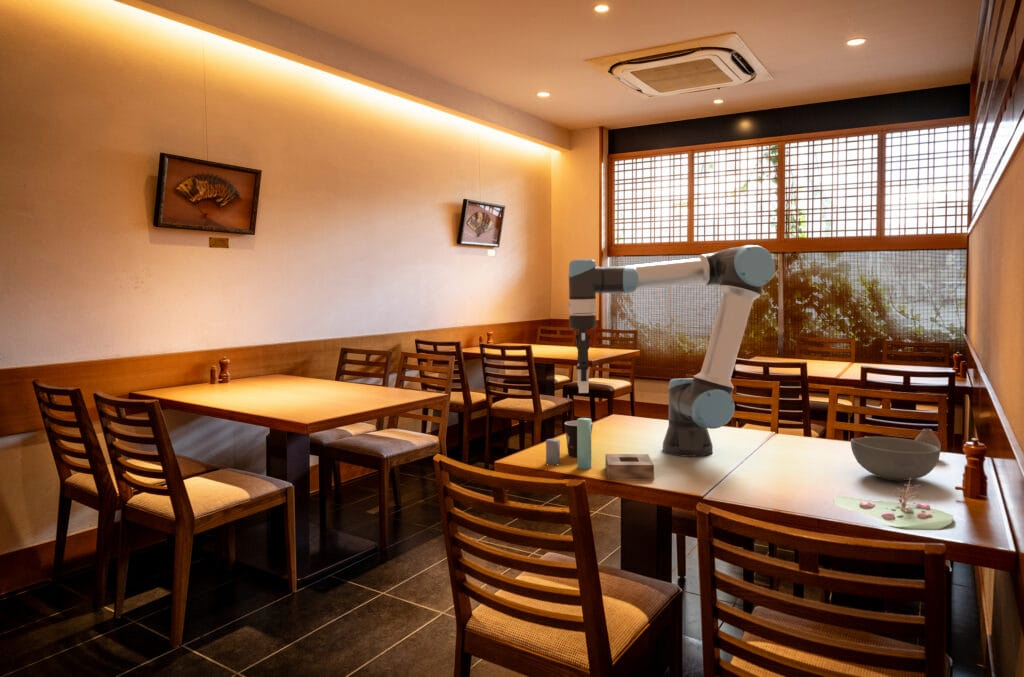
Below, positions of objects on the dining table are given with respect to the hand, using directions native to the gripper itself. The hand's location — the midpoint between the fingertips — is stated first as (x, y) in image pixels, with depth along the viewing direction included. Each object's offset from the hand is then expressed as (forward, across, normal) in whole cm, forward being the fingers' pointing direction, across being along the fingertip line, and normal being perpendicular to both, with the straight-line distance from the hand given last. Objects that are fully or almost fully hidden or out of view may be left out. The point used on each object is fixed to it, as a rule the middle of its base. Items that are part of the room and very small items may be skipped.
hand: (583, 389), depth 192 cm
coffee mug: (+23, -16, -1) cm, 28 cm away
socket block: (+23, +6, +12) cm, 26 cm away
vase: (+23, -14, +101) cm, 105 cm away
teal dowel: (+22, 0, 0) cm, 23 cm away
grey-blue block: (+22, -4, -9) cm, 24 cm away
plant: (+24, +36, +68) cm, 80 cm away
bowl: (+23, +9, +81) cm, 85 cm away
